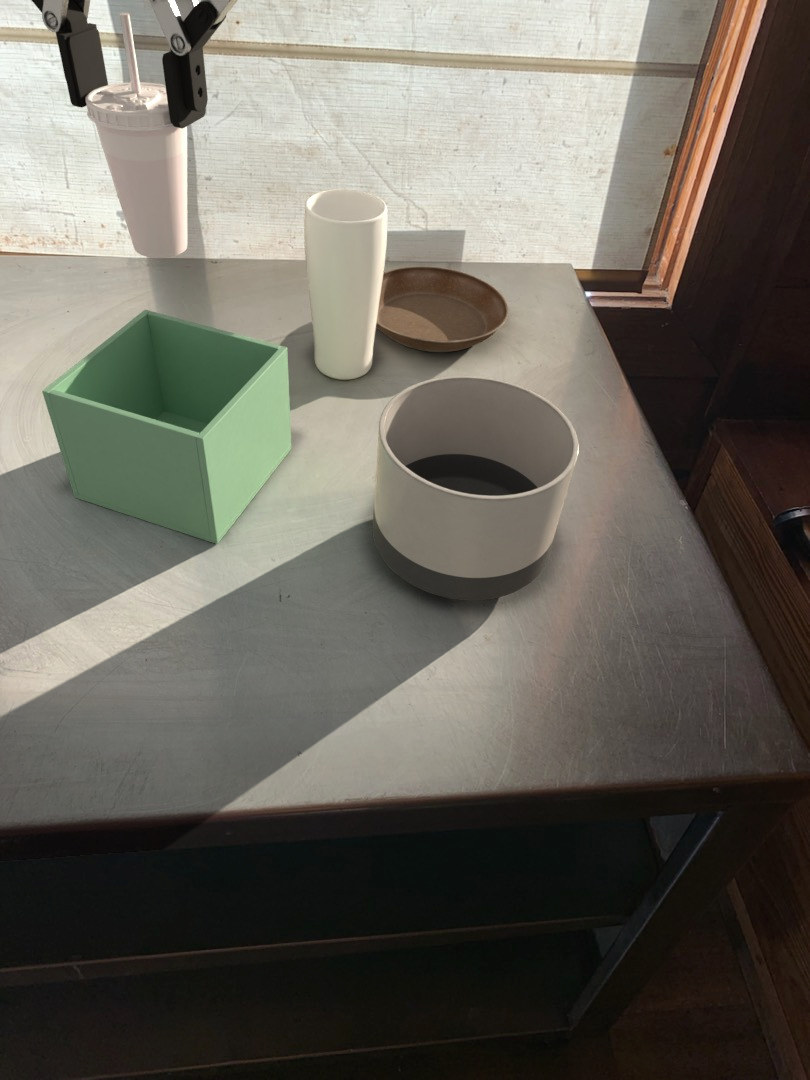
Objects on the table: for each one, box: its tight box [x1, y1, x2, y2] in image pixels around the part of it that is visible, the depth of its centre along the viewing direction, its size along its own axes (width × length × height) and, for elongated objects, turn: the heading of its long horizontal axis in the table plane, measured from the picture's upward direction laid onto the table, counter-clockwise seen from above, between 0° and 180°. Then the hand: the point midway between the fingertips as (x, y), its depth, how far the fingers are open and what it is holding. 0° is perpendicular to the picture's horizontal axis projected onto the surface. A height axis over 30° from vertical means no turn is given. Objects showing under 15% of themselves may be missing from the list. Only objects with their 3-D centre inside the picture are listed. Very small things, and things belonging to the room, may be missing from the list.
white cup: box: [303, 188, 388, 381], centre depth 68 cm, size 7×7×15 cm
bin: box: [42, 309, 292, 545], centre depth 58 cm, size 12×12×10 cm
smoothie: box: [85, 12, 188, 259], centre depth 51 cm, size 6×6×14 cm
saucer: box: [376, 265, 509, 353], centre depth 79 cm, size 15×15×3 cm
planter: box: [372, 375, 580, 601], centre depth 54 cm, size 13×13×10 cm
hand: (139, 108), depth 50 cm, fingers closed on smoothie, 6 cm apart
